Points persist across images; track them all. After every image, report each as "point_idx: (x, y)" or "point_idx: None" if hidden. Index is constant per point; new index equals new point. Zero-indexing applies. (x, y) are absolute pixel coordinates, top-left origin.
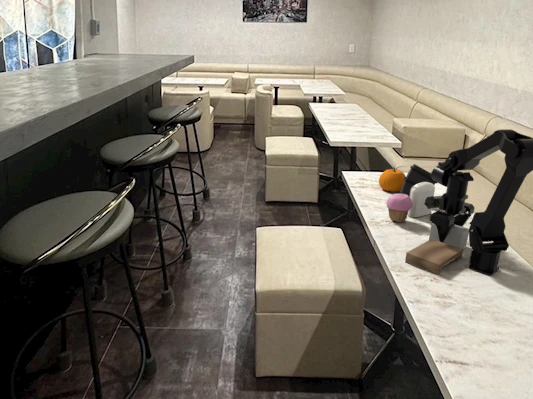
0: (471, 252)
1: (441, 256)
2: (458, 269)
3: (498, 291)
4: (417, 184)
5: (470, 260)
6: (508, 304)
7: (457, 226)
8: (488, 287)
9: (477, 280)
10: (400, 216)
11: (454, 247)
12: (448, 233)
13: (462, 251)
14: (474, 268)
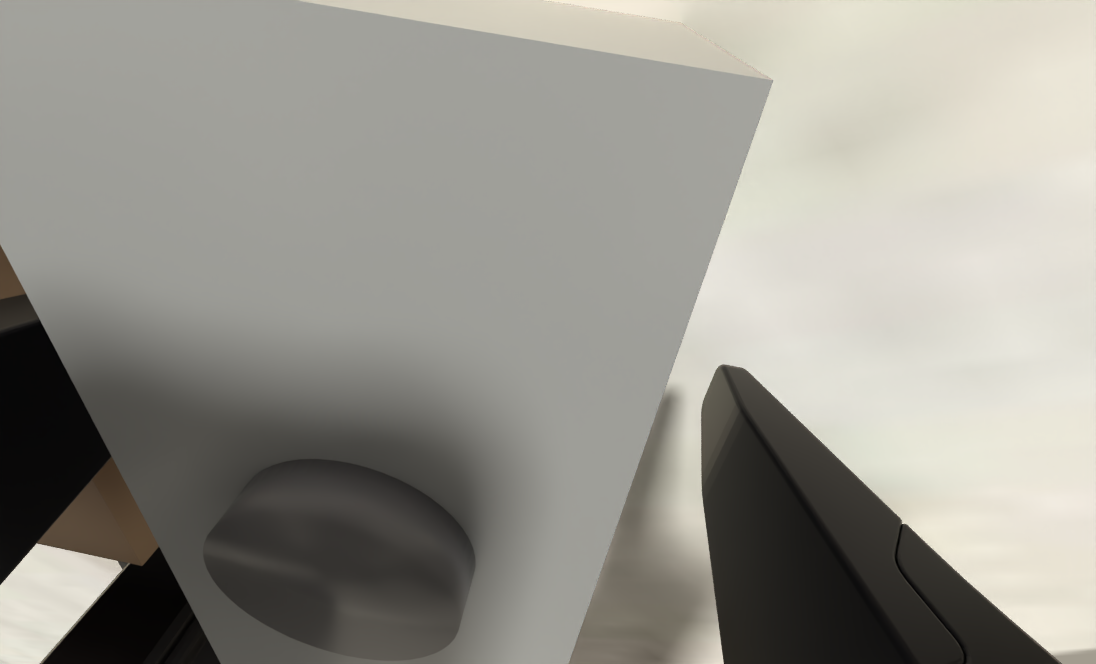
0: (49, 653)
1: None
2: None
3: (61, 629)
4: None
5: (122, 572)
6: (7, 648)
7: (502, 640)
8: (40, 602)
9: (39, 565)
10: None
11: (81, 500)
12: (36, 519)
13: (146, 543)
14: (121, 564)
